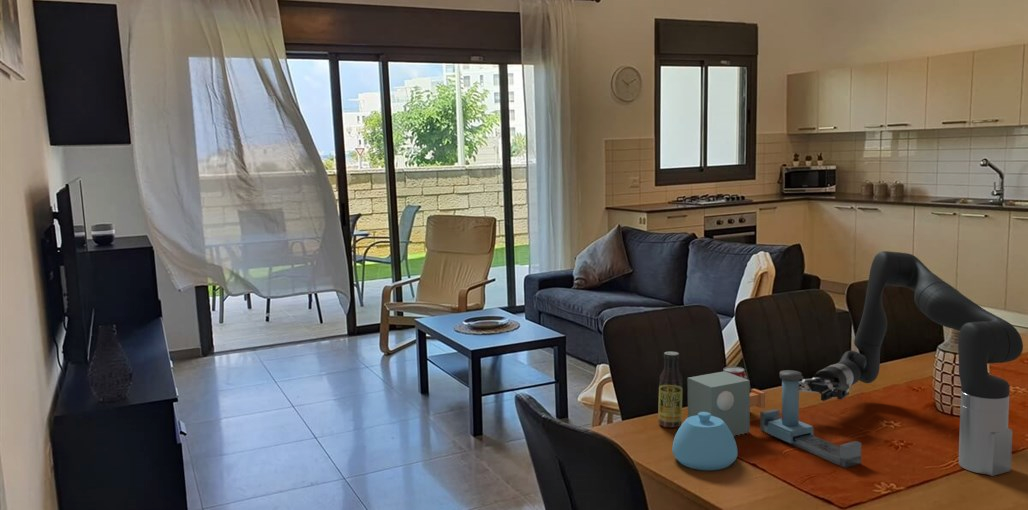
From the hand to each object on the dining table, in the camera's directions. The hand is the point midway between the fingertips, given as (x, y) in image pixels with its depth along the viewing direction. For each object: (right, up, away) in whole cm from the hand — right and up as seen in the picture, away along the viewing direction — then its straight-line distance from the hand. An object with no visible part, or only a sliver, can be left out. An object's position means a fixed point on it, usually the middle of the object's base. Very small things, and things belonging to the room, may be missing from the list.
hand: (806, 393), depth 201 cm
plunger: (-15, -4, +2) cm, 15 cm away
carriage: (-6, -10, -5) cm, 13 cm away
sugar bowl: (-30, -13, -16) cm, 37 cm away
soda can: (-14, -8, +18) cm, 24 cm away
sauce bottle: (-33, -10, +8) cm, 36 cm away
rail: (-4, -11, -10) cm, 15 cm away
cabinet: (-22, -10, +2) cm, 24 cm away
